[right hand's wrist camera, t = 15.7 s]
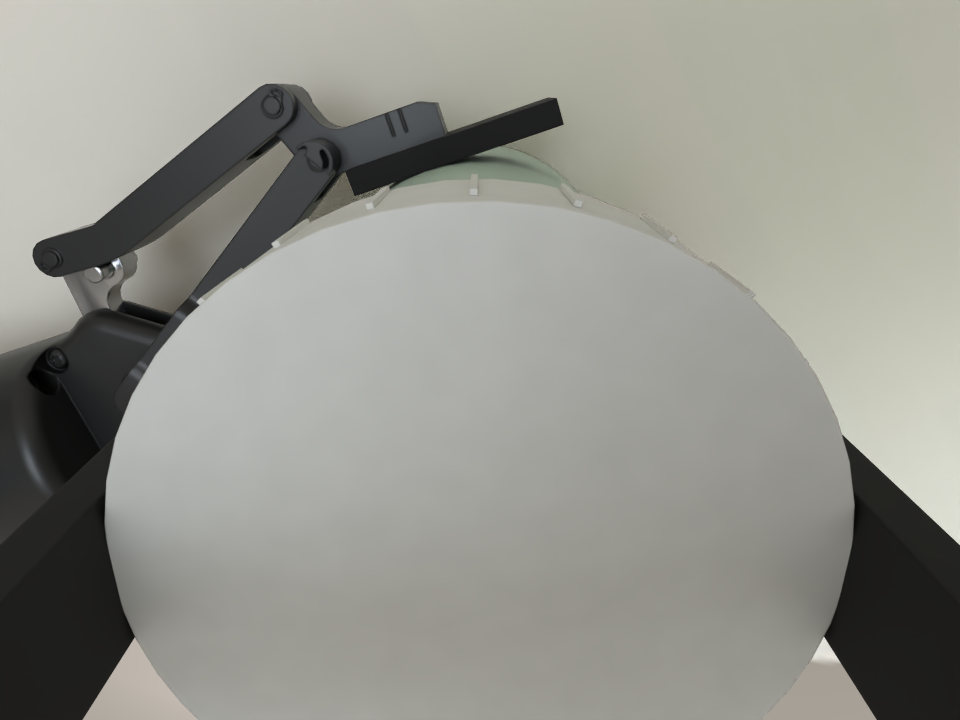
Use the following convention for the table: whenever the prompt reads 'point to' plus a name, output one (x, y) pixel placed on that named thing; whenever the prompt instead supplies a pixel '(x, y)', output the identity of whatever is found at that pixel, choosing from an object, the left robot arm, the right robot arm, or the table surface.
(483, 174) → the jar
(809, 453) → the lid
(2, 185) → the table surface
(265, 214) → the left robot arm
